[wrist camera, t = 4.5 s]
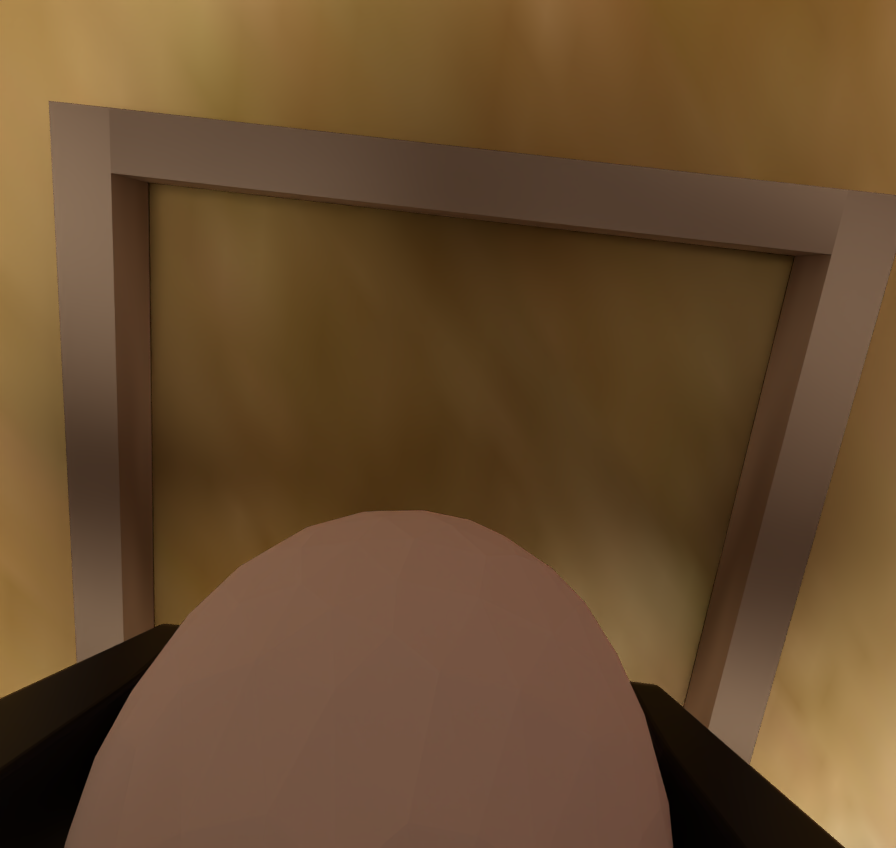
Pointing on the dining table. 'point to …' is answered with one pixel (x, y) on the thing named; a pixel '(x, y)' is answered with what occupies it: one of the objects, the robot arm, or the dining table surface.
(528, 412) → the dining table surface
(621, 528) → the dining table surface
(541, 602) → the egg
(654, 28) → the dining table surface
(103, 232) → the walnut frame
